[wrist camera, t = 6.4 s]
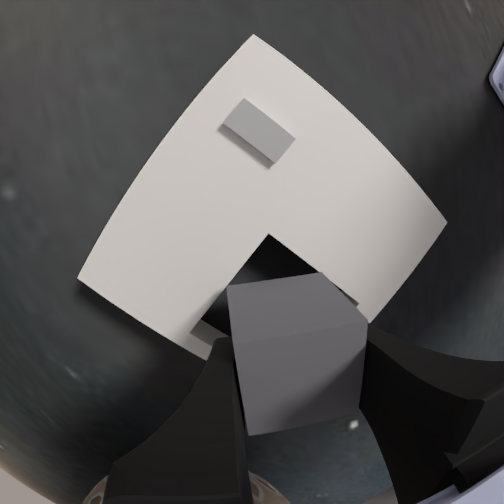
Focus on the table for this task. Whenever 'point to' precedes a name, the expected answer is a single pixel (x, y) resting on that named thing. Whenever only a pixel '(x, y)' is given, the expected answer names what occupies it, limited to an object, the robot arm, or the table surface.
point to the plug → (296, 351)
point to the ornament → (264, 494)
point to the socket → (259, 201)
